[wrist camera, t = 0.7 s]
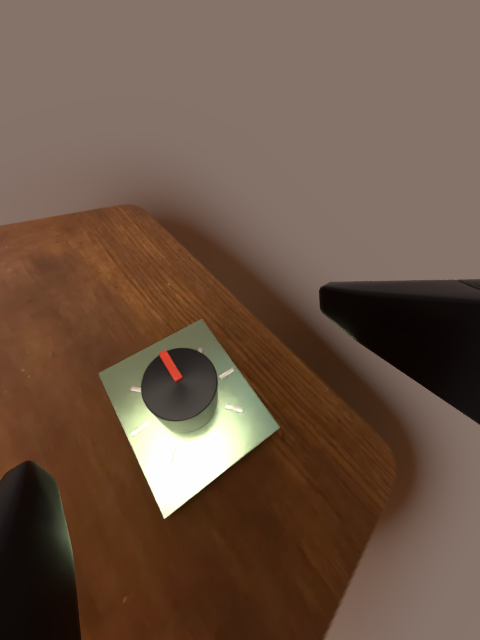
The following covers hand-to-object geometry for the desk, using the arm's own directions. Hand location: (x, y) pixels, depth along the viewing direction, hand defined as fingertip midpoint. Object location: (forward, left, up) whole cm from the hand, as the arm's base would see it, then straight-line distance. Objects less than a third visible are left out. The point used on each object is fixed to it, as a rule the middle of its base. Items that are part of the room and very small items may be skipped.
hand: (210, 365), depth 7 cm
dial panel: (+4, 0, -18) cm, 18 cm away
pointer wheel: (+4, 0, -14) cm, 15 cm away
